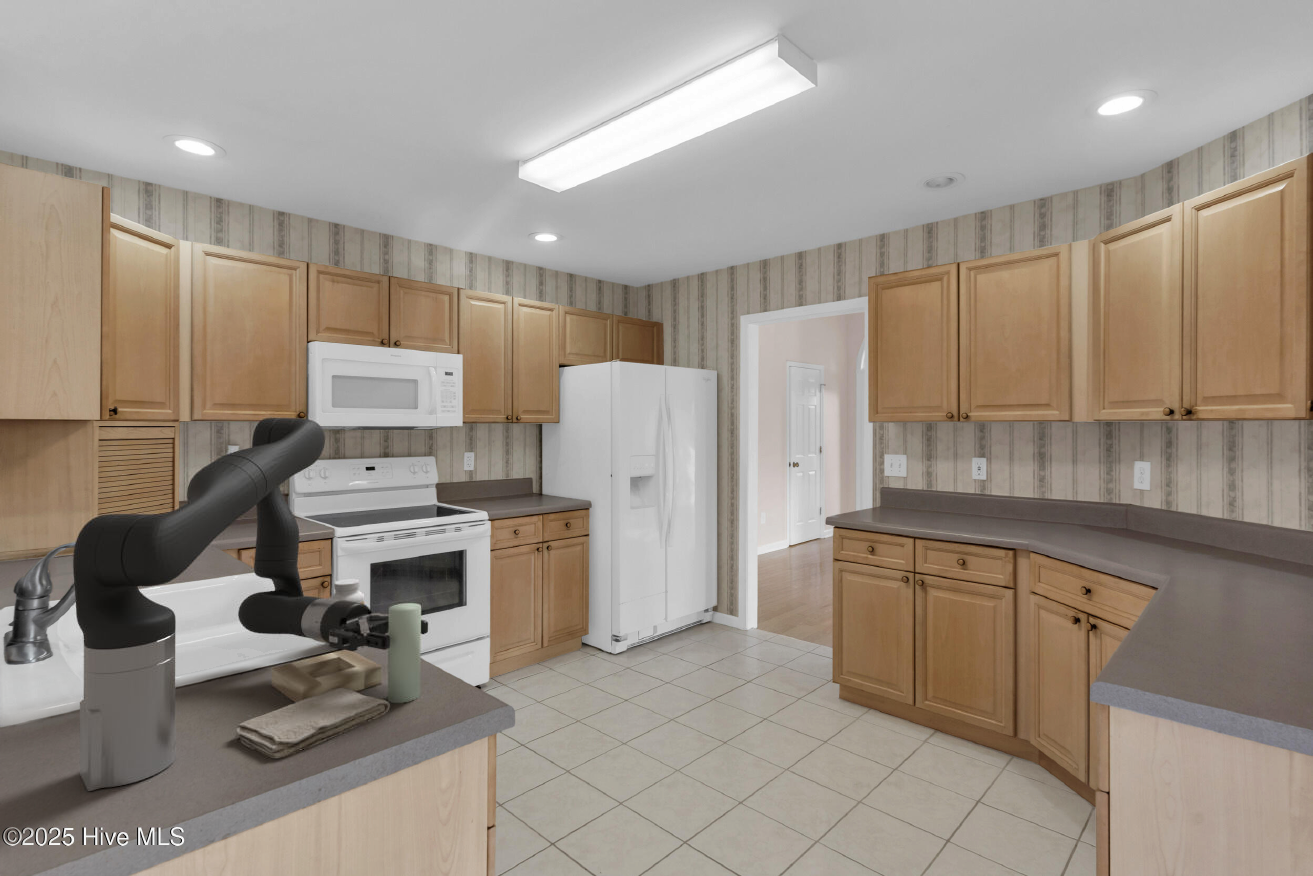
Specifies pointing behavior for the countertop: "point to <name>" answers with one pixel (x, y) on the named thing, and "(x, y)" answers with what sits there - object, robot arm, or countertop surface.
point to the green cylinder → (404, 652)
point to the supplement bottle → (348, 591)
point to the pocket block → (326, 675)
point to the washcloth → (309, 722)
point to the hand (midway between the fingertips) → (408, 635)
